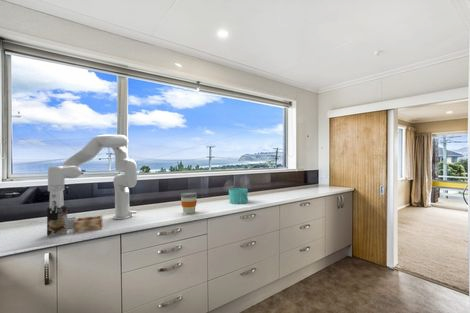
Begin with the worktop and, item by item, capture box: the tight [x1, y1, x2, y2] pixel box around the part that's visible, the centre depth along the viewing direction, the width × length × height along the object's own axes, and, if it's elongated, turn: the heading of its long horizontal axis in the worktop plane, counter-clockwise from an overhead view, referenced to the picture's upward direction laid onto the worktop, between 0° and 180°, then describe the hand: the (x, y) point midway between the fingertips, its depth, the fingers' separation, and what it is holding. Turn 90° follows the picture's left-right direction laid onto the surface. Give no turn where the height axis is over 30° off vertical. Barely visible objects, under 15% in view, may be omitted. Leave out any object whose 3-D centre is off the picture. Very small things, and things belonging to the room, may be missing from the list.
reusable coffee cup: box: [180, 191, 198, 215], centre depth 181 cm, size 12×13×15 cm
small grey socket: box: [67, 216, 79, 229], centre depth 146 cm, size 8×8×5 cm
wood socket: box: [73, 214, 104, 234], centre depth 141 cm, size 14×11×6 cm
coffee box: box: [46, 204, 68, 238], centre depth 131 cm, size 9×6×16 cm
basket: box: [228, 187, 249, 205], centre depth 219 cm, size 19×18×13 cm
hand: (56, 218), depth 130 cm, fingers open, 9 cm apart
